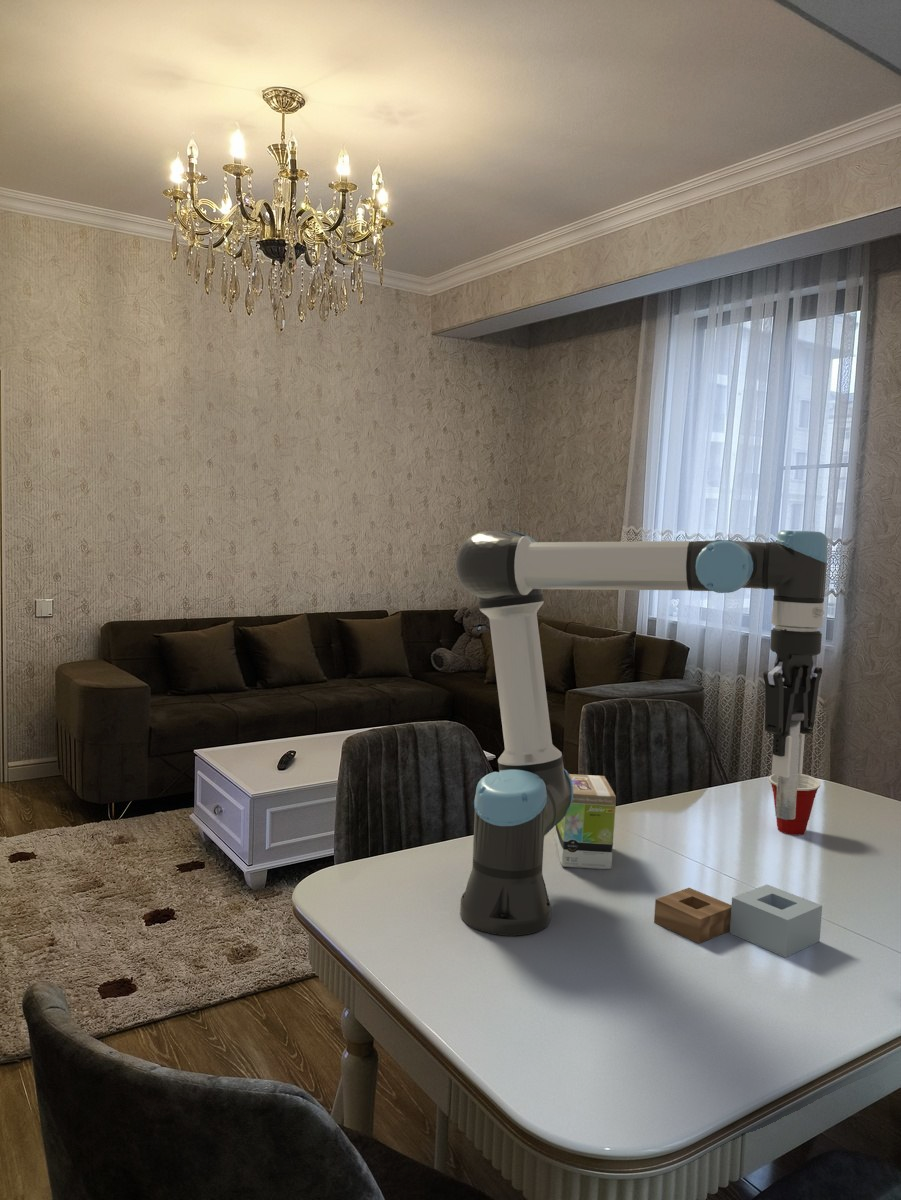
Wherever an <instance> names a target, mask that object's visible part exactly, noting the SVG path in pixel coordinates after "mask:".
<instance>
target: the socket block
mask: <svg viewBox="0 0 901 1200" xmlns="http://www.w3.org/2000/svg"><path fill="white" fill-rule="evenodd" d="M731 905H732V906H731V921H730V931H729V934H730V935H733V936H735V937H738V938H740V939H743V940H744V941H747V942H749V943H752V944H753V945H756V946H758V947H760V948H762V949H765V950H767V951H770V952H772V953H774V954H776V955H777V956H778V955H779V956H780V957H783V958H787V957H790V956H792V955H794V954H796V953H798V952H800V951H802V950H804V949H806V948H808V947H810V946H813V945H815V944H817V943H819V942H820V940H821V928H822V915H823V913H822V912H823V905H822V904H819V903H817V902H814V901H811V900H809V899H806V898H804V897H801V896H798V895H795V894H794V893H791V892H788V891H785V890H782V889H780V888H777V887H775V886H772V885H770V884H765V885H762V886H759V887H756V888H754V889H750V890H749V891H745V892H743V893H740V894H738V895H735V896H732V897H731Z"/></svg>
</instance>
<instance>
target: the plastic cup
mask: <svg viewBox="0 0 901 1200" xmlns="http://www.w3.org/2000/svg"><path fill="white" fill-rule="evenodd" d="M777 776H778V775H774V774H771V775H769V776H768V781H769V782H770V784H771V788H772V792H773V803H774V804H773V805H774V811H775V812H774V813H775V814H776V795H777ZM821 784H822V781H820V780H819V779H818V778H816V777H813V776H811V775H807V774H804V773H802V774H800V775H799V774H798V778H797V796H796V814H795V819H793V820H786V819H781V818H778V817H776V816H775V818H776V826H777V830H778V831H779V832H781V833H782V834H786V835H792V836H803V835H805V834H806V831H807V829H808V828H807V827H808V823H809V821H810V817H811V814H812V808H813V805H814V800H815V798H816V796H817V795H816V794H817V792H818V789H819V788H820V787H821Z"/></svg>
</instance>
